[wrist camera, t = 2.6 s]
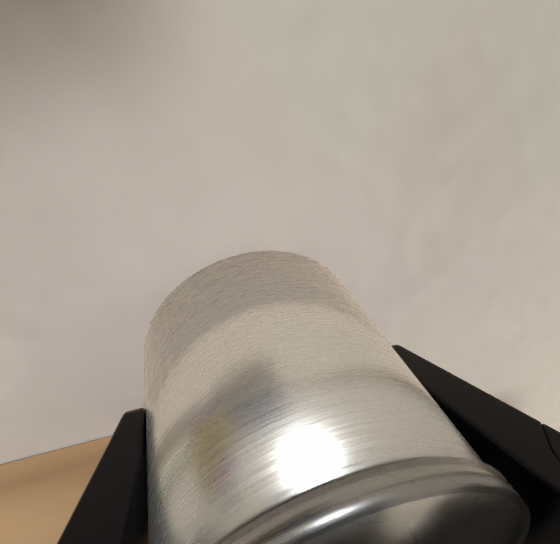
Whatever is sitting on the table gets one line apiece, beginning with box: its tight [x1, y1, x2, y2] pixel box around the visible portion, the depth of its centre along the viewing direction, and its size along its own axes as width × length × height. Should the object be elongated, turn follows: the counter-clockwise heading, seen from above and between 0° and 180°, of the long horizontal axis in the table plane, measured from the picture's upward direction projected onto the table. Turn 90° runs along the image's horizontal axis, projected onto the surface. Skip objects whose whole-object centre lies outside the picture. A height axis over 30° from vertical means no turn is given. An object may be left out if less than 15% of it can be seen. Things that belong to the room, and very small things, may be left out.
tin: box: [145, 251, 531, 544], centre depth 8 cm, size 6×6×6 cm
